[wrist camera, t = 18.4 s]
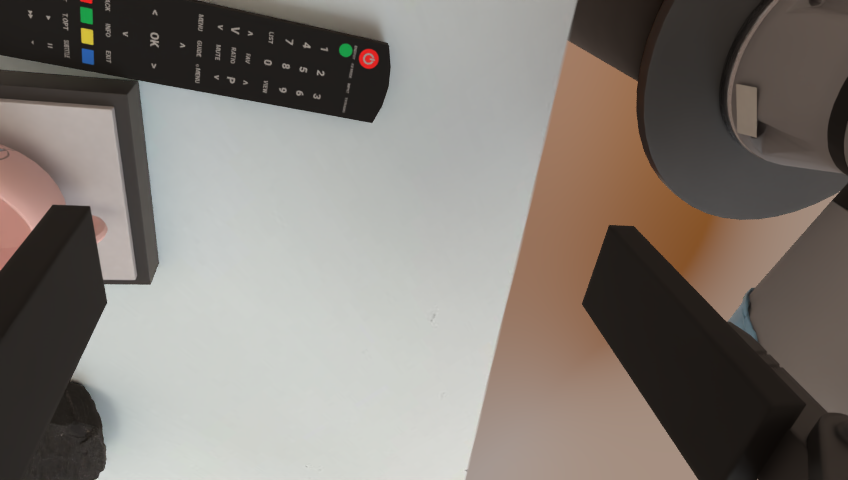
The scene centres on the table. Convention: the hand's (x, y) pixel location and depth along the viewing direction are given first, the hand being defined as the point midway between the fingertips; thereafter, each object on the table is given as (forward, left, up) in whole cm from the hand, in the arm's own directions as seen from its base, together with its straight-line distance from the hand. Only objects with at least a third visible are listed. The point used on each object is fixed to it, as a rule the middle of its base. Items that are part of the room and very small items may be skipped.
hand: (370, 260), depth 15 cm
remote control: (+8, +1, -27) cm, 28 cm away
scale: (+19, +11, -27) cm, 35 cm away
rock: (+21, +34, -27) cm, 48 cm away
